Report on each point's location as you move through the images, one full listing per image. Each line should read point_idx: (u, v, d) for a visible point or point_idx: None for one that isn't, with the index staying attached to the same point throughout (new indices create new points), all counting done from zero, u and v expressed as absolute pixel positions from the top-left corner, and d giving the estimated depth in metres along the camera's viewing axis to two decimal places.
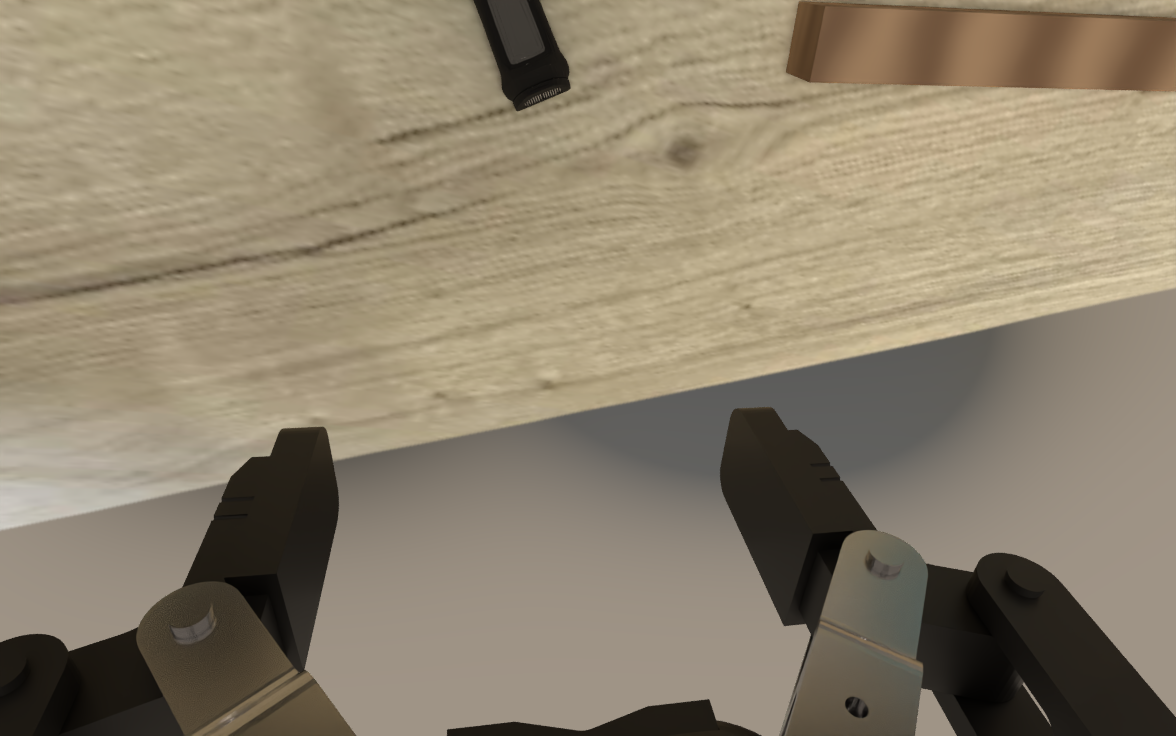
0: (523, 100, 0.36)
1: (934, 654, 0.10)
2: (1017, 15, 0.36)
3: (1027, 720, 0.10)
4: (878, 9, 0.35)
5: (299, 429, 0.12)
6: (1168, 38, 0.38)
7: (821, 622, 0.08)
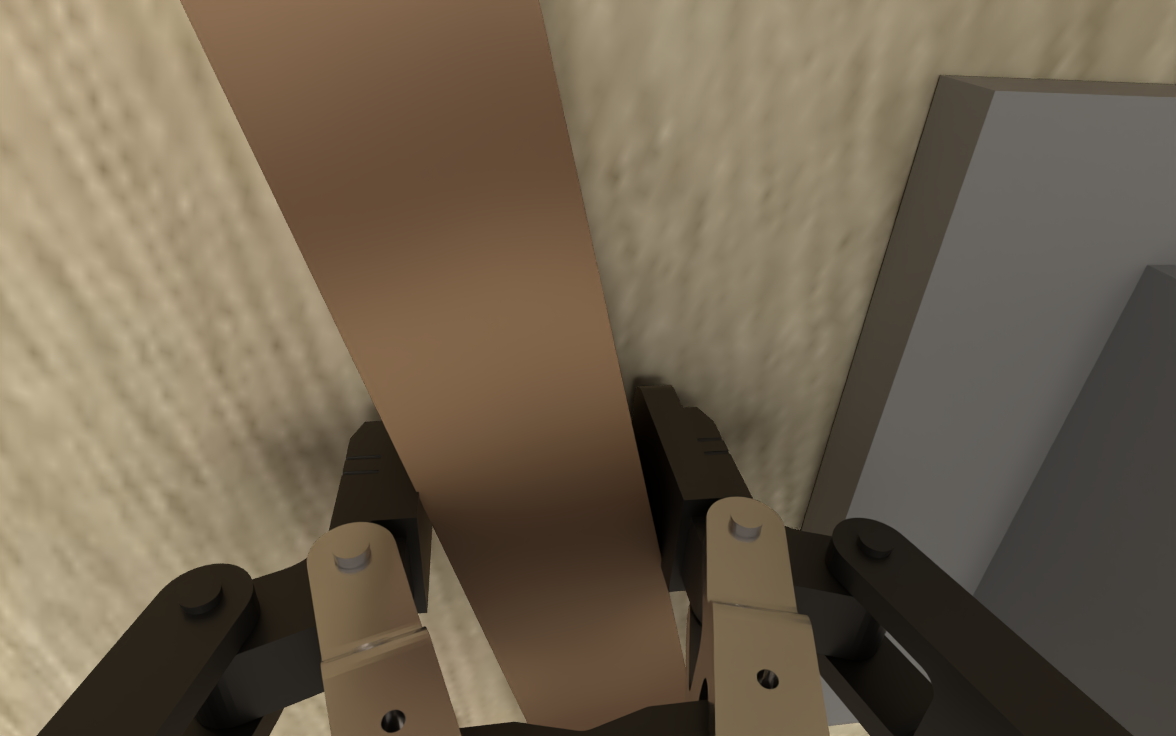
0: None
1: None
2: (626, 412, 0.11)
3: (895, 666, 0.11)
4: None
5: None
6: None
7: (714, 604, 0.09)
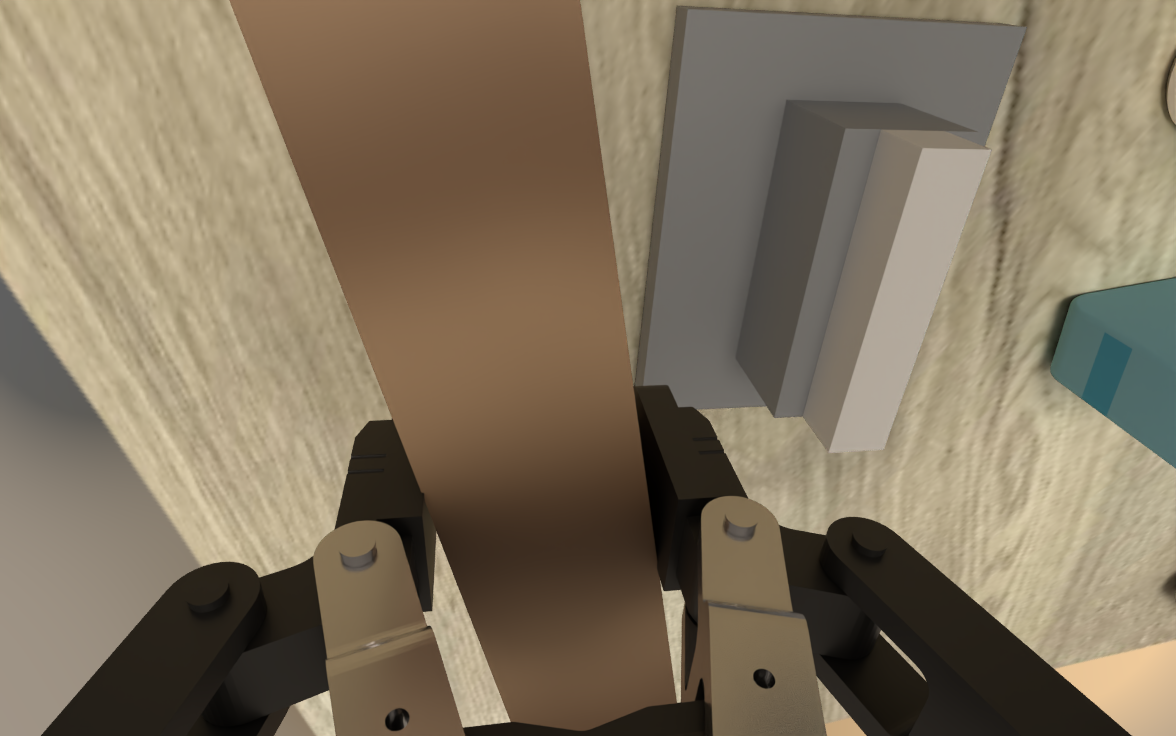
0: None
1: None
2: (635, 419, 0.11)
3: (890, 665, 0.11)
4: None
5: None
6: None
7: (709, 604, 0.09)
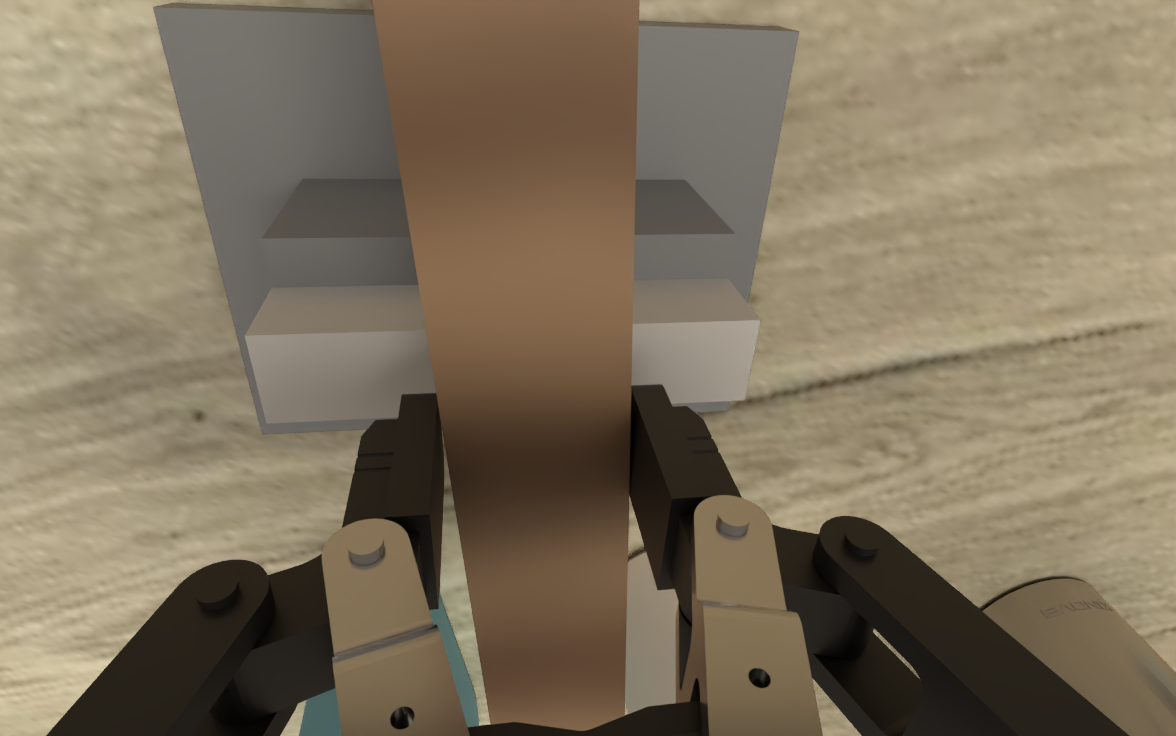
0: None
1: None
2: (629, 363, 0.13)
3: (883, 663, 0.11)
4: None
5: (418, 394, 0.13)
6: (592, 685, 0.18)
7: (703, 604, 0.09)
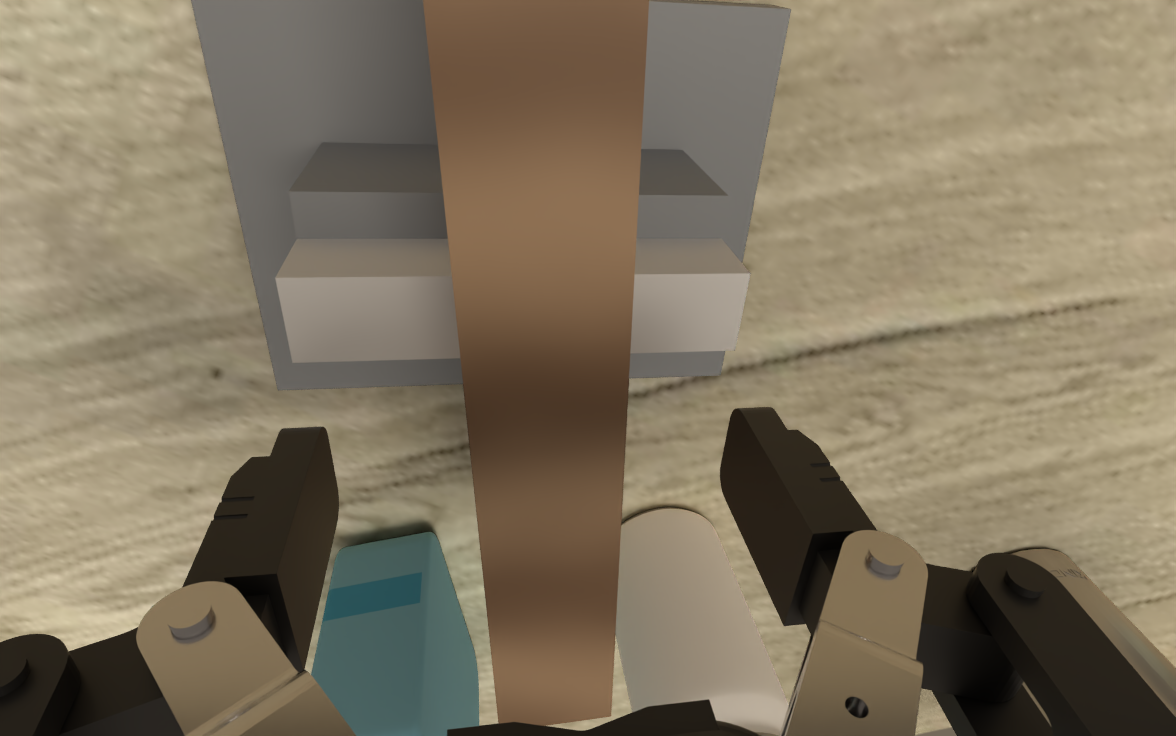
0: None
1: (934, 654, 0.10)
2: (631, 301, 0.14)
3: (1027, 720, 0.10)
4: None
5: (299, 429, 0.12)
6: (586, 614, 0.19)
7: (821, 622, 0.08)
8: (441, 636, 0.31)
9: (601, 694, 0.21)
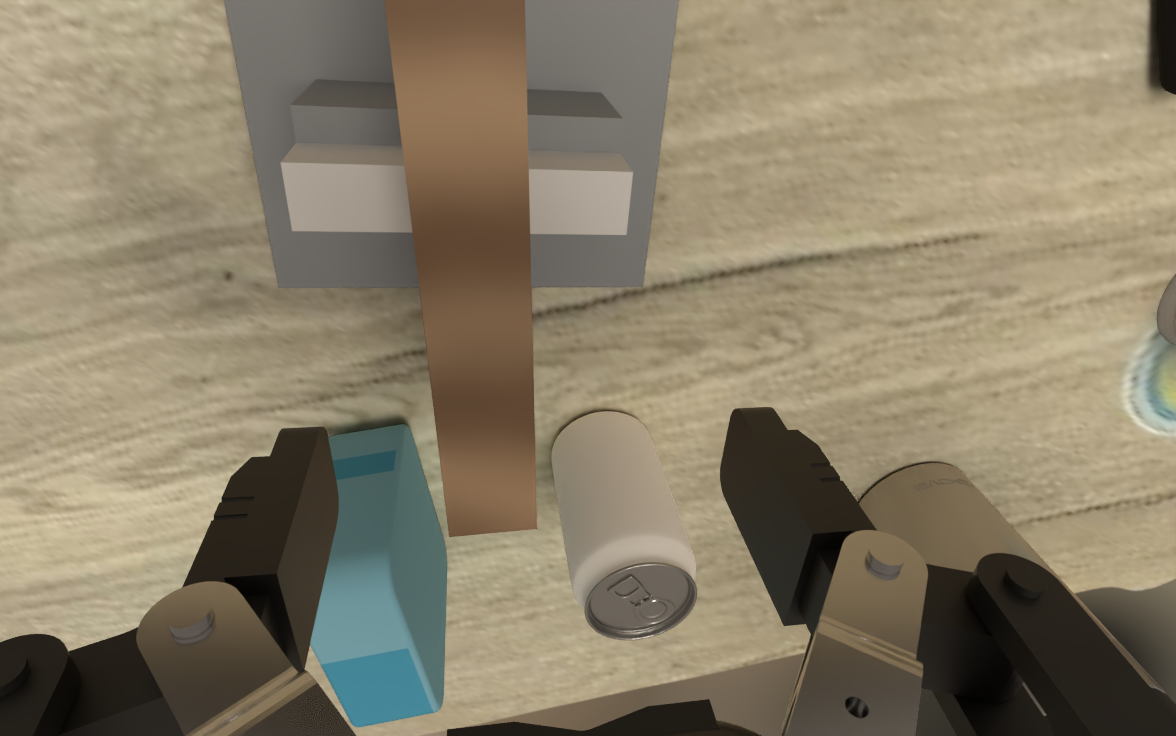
0: None
1: (934, 654, 0.10)
2: (527, 168, 0.20)
3: (1027, 720, 0.10)
4: None
5: (299, 429, 0.12)
6: (511, 430, 0.25)
7: (821, 622, 0.08)
8: (412, 504, 0.37)
9: (528, 506, 0.28)
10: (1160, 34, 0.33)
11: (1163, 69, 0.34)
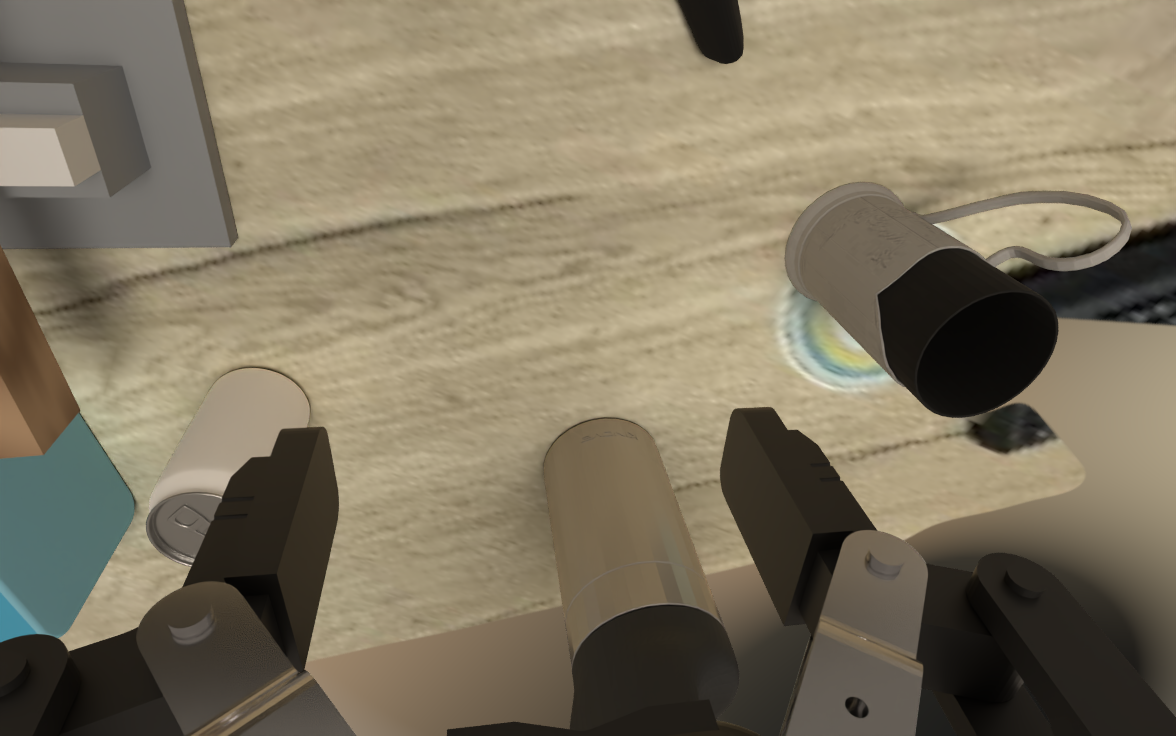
0: None
1: (934, 654, 0.10)
2: None
3: (1027, 720, 0.10)
4: None
5: (299, 429, 0.12)
6: None
7: (821, 622, 0.08)
8: None
9: (23, 433, 0.31)
10: None
11: (694, 36, 0.37)
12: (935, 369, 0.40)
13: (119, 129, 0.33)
